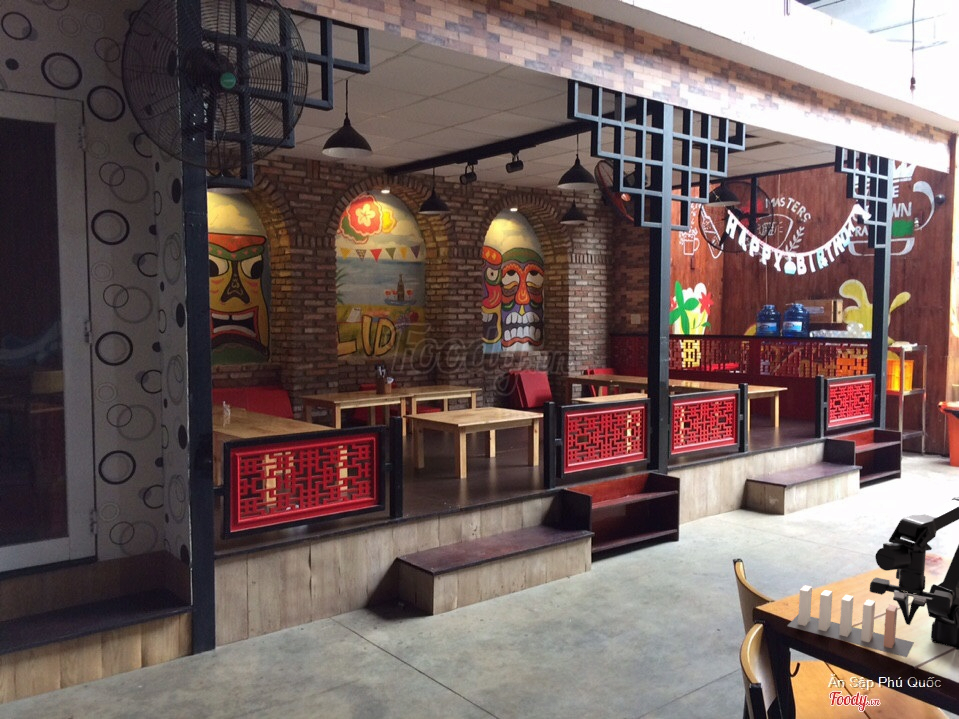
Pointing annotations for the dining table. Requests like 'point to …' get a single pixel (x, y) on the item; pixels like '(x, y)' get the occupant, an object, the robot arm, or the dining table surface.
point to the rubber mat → (855, 636)
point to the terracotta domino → (890, 626)
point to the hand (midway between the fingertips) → (908, 624)
